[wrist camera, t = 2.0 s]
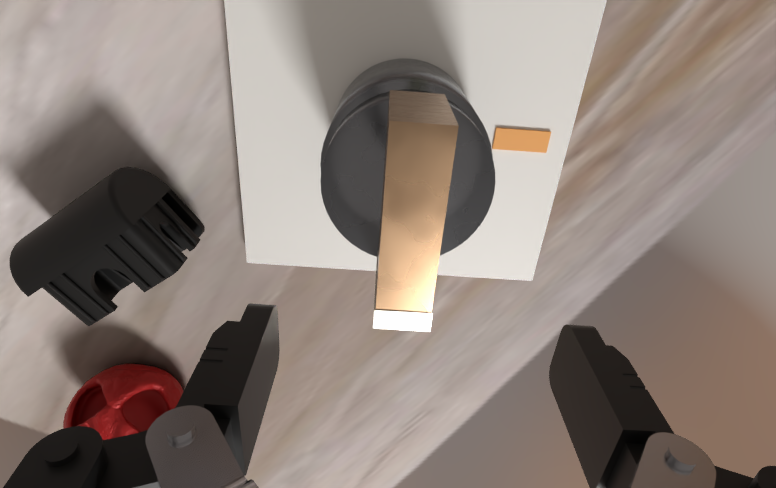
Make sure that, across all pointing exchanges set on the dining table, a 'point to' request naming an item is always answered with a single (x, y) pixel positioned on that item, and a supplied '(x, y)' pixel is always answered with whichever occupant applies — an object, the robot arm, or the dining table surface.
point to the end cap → (107, 244)
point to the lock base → (362, 32)
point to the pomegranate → (123, 400)
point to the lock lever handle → (407, 194)
